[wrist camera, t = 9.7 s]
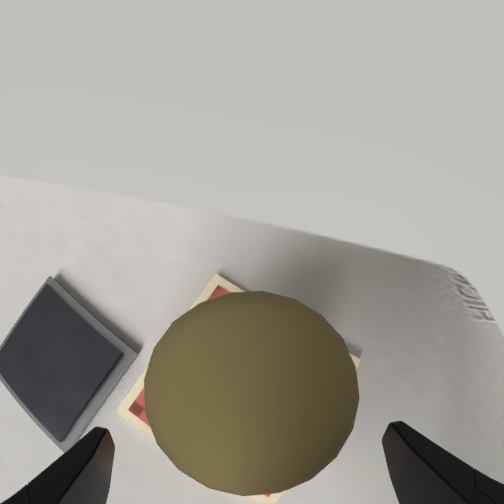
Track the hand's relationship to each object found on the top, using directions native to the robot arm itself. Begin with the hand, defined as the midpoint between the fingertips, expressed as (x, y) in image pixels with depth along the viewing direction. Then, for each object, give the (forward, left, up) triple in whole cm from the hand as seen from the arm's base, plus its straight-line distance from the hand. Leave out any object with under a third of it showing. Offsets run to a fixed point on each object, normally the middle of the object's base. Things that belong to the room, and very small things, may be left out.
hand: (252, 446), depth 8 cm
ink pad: (+11, +4, -8) cm, 14 cm away
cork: (+1, -1, -7) cm, 8 cm away
